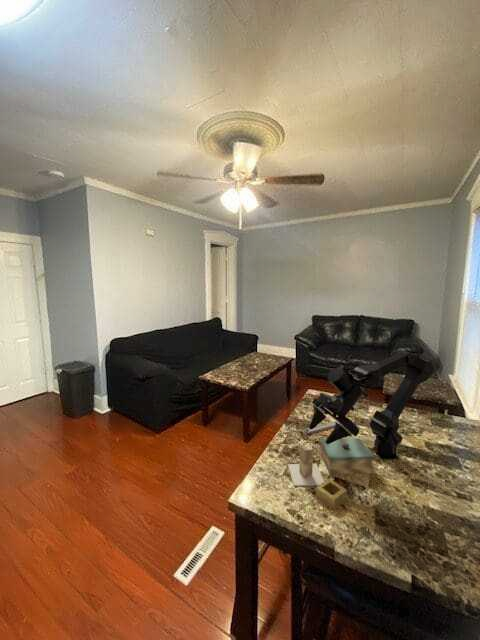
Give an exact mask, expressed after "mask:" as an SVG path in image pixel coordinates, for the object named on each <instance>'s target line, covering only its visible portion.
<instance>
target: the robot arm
mask: <svg viewBox="0 0 480 640" xmlns="http://www.w3.org/2000/svg"><path fill="white" fill-rule="evenodd" d="M401 368H403V370H404V371H403V372H404V377H403V379H402V380H401V382H400V383H399V386H398V387H397V389H396V391H395V392H394V393H393V395H392V397H391V398H390V400H389V402H388V403H387V405H386V407H385V408H384V409H383V410H381V411H379V410H376V411H374V414H373V416H372V417H371V418H370V422H369V425H370V430H371V431H372V432H371V433H372V434H374V435H375V439H374V445H373V447H372V450H373V451H374V452H375V453H376V454H377V456H378V457H379V458H380V459H382V460H395V459H396V460H397V459H398V460H399V459H400V456H399V455H398V454H397V448H398V446H399V444H401V443H402V442H403V436H402V435H401V434H400V433H399V432H398V431H399V429H400V420H399V418H400V417H401V415H402V413H403V411H404V410H405V408H406V406H407V405H408V403H409V402H410V400H411V398H412V397H413V395H414V394H415V392H416V390H417V388H418V386H419V385H420V384H423V383H425V382H426V381H429V379H430V378H431V377H432V375H433V374H434V372H435V369H436V367H435V366H434V363H433V362H432V361H430V360H427V359H423V358H421V357H419V356H416V355H415V354H414V353H412V352H408V351H405V350H399V351H398V352H397V353H396V354H393V355H391V356H389V357H387V358H384V359H382V360H380V361H378V362H376V363H373V364H362V365H359V366H356V367H355V368H353V369H351V370H349V369H348V368H347V367H346V366H344V365H342V364H340V365H339V366H338V367H335V368H333V369H331V370H330V371H329V372H328V374H327V380H328V381H329V383H331V385H333V386H334V388H335V389H337V391H338V392H339V393H338V394H337V393H334V394H333V395H329V394H327V393H324V392H320V393H319V395H318V396H319V397H314V399H313V400H312V401H311V404H312V407H313V415H312V419H311V421H310V423H309V426H308V428H310V429H311V430H312V429H313V428H315V427H316V426H319V425H320V423H322V422H323V421H324V420H325V419H326V418H327V415H329V416H330V417H331V418H333V419H334V420H335V421H336V420H337V421H338V422H339V423H340V424H338V423H337V422H335V421H334V422H335V427H333V428H334V429H333V430H332V432H330V434H329V435H328V437H327V438H326V439H327V440H326V442H325V443H326V444H330V443H332V442H334V441H337V440H339V439H346V438H347V437H348V438H349V437H350V438H352V437H355V438H356V437H357V436H358V435H359V433H360V427H359V426H357V425H356V424H355V422H354V423H353V422H352V420H351V419H350V418H349V417H347V416H348V414H349V412H351V411H352V412H354V411H355V408H354V406H355V405H356V404H357V402H359V399H361V397H364V398H368V393H367V389H366V388H368V389H371V388H375V386H376V385H378V384H380V382H381V381H382V379H383V377H385V376H387V375H389V374H391V373H393V372H396V371H398V370H399V369H401ZM360 385H362V386H364V387H362V386H360ZM365 387H366V388H365Z"/></svg>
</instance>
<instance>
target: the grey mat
mask: <svg viewBox="0 0 480 640" xmlns="http://www.w3.org/2000/svg"><path fill="white" fill-rule="evenodd" d="M287 467H288V471H289V474H290V479H291V481H292V486H293V487H311V486H312V487H317V486H319V485H320V484H321V483H323V482H324V481H325V479H324V477H323V475H322V473H321V471H320V468H319V467H318V465H317V463H316V462H314V463H313V465H312V476H309V477H305V478H304V477H303V476H302V474H301V473H300V472H299V467H300V463H288V464H287Z"/></svg>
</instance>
